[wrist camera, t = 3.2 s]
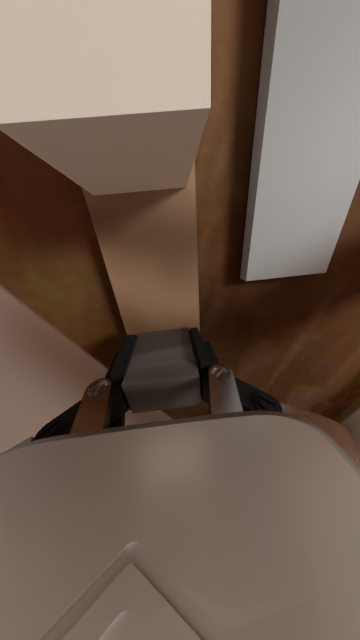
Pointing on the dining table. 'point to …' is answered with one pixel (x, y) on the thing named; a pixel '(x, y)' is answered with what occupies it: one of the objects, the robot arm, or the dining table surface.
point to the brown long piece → (154, 288)
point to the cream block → (108, 88)
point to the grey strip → (303, 138)
